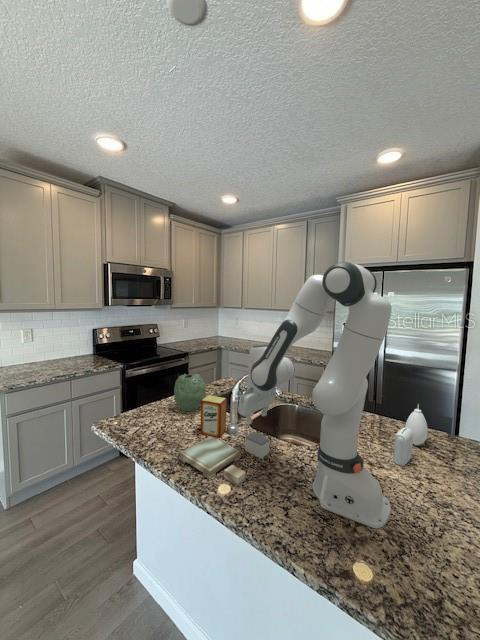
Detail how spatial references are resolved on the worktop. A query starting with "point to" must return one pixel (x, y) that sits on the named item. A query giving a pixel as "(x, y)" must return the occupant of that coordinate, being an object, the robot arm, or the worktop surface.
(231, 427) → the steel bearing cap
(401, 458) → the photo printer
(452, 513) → the worktop surface
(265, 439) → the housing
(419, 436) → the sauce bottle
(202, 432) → the baking soda box
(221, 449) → the stand
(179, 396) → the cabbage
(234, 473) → the beech block
